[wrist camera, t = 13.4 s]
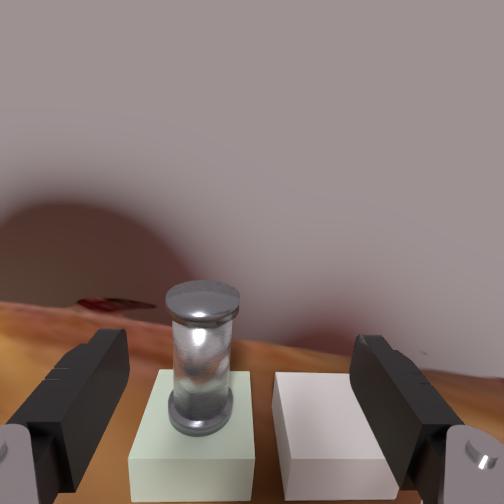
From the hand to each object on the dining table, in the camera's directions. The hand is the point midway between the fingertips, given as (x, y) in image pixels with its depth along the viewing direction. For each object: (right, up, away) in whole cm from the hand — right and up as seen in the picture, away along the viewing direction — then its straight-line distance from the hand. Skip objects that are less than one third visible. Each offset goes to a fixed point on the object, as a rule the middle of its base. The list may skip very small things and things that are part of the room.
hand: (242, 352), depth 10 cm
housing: (-5, -11, +18) cm, 21 cm away
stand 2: (+8, -17, +20) cm, 27 cm away
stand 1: (-5, -16, +19) cm, 26 cm away
